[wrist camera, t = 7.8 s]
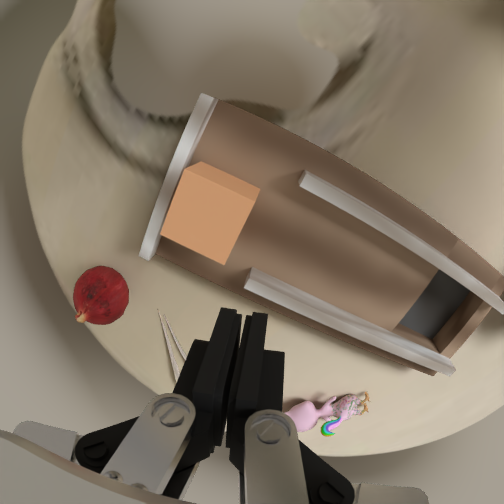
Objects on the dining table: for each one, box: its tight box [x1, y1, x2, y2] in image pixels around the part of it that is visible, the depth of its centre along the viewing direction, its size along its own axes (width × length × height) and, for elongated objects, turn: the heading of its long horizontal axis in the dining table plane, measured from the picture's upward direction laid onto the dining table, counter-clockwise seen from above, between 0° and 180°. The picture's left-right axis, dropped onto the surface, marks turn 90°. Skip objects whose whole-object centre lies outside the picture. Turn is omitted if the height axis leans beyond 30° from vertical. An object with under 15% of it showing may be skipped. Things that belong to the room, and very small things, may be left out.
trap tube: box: [139, 93, 504, 376], centre depth 25 cm, size 14×34×5 cm, turn 64°
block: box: [160, 161, 260, 265], centre depth 22 cm, size 5×5×4 cm
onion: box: [73, 266, 129, 325], centre depth 27 cm, size 6×6×8 cm
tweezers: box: [158, 310, 187, 382], centre depth 34 cm, size 18×5×2 cm, turn 11°
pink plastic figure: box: [284, 392, 371, 436], centre depth 33 cm, size 6×6×15 cm
